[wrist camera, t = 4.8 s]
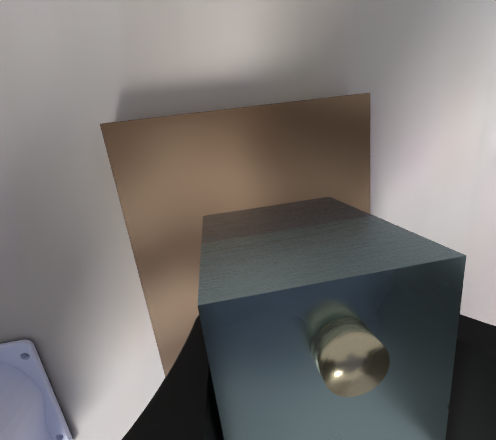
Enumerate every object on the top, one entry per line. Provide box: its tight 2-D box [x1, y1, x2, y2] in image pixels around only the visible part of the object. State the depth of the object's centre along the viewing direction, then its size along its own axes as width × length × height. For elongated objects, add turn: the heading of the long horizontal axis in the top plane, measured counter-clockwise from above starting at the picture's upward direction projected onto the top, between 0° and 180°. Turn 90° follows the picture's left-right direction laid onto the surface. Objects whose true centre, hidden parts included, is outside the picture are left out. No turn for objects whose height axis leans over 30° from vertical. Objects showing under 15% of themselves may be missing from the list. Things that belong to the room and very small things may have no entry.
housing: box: [197, 197, 466, 440], centre depth 9 cm, size 5×8×7 cm, turn 7°
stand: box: [100, 93, 370, 377], centre depth 17 cm, size 16×14×2 cm
